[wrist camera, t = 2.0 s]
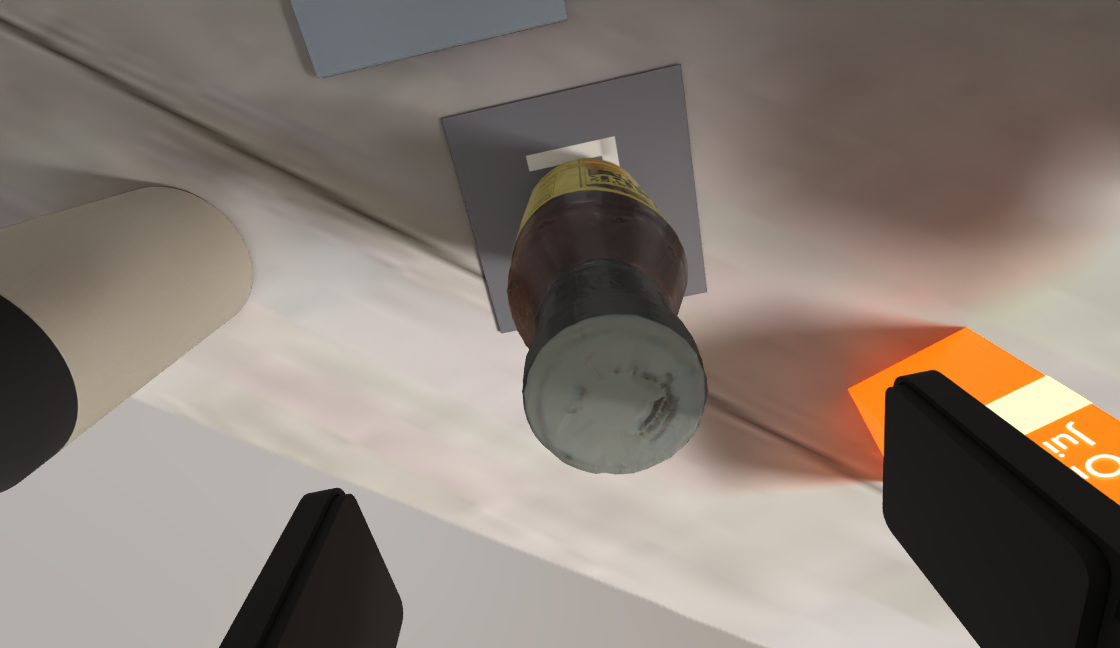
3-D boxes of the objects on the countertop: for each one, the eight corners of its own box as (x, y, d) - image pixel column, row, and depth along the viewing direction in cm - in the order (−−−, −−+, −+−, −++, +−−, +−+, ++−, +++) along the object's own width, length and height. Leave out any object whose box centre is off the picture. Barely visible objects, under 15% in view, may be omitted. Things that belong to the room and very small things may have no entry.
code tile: (679, 64, 28) (681, 64, 28) (706, 290, 33) (707, 292, 33) (442, 118, 29) (441, 119, 29) (501, 331, 34) (501, 333, 33)
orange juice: (895, 483, 39) (1208, 855, 20) (845, 389, 36) (1159, 725, 17) (1011, 428, 37) (1466, 778, 19) (969, 324, 34) (1461, 620, 16)
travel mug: (125, 156, 29) (-422, 265, 13) (276, 233, 31) (-33, 417, 15) (88, 283, 32) (-402, 509, 15) (229, 348, 34) (-76, 613, 17)
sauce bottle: (665, 224, 31) (832, 444, 13) (571, 290, 32) (601, 572, 14) (595, 121, 29) (675, 208, 11) (498, 197, 30) (420, 388, 12)
